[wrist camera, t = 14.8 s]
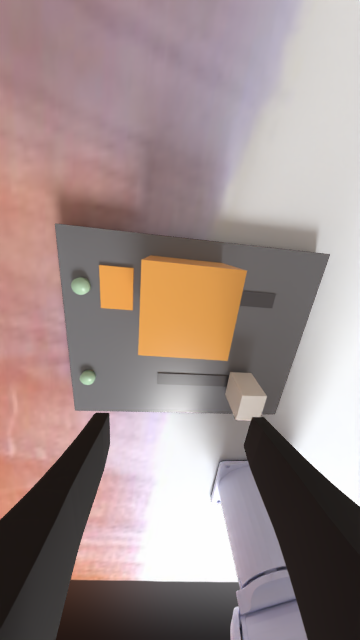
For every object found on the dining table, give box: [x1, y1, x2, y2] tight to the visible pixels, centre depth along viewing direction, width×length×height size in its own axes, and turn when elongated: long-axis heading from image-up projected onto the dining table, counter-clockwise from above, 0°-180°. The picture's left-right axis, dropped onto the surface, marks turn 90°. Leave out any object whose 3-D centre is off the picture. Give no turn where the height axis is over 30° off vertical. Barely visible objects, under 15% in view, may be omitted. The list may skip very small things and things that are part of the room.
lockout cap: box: [138, 255, 247, 361], centre depth 13 cm, size 5×5×5 cm
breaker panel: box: [55, 224, 330, 414], centre depth 17 cm, size 20×16×2 cm
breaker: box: [225, 372, 267, 421], centre depth 17 cm, size 2×2×3 cm
